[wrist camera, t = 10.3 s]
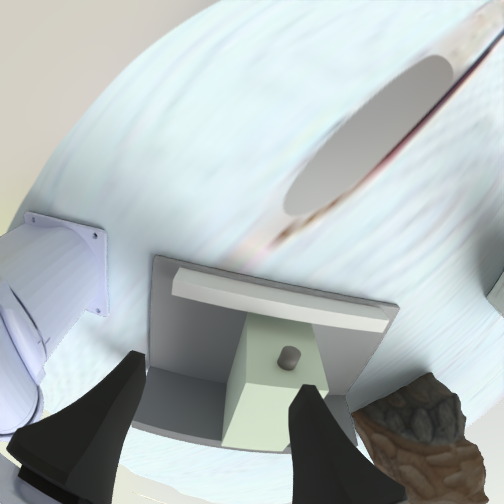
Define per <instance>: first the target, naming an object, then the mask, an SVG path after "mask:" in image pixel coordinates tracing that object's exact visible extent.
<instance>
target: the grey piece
mask: <svg viewBox="0 0 504 504" xmlns="http://www.w3.org/2000/svg"><path fill="white" fill-rule="evenodd" d="M399 310H400V307H399V306H398V305H394V304H388V303H383V302H377V301H372V300H366V299H361V298H355V297H350V296H345V295H339V294H334V293H329V292H324V291H319V290H314V289H309V288H304V287H299V286H294V285H289V284H284V283H279V282H275V281H270V280H265V279H260V278H256V277H251V276H246V275H242V274H237V273H233V272H228V271H224V270H219V269H215V268H210V267H206V266H201V265H197V264H193V263H188V262H184V261H180V260H175V259H171V258H167V257H163V256H159V255H155V257H154V260H153V273H152V289H151V311H150V368H149V370H148V373H147V376H146V384H145V387H144V391H143V394H142V398H141V401H140V403H139V405H138V408H137V410H136V413H135V415H134V417H133V420H132V422H131V425H132V427H133V428H136V429H139V430H143V431H146V432H149V433H153V434H156V435H160V436H164V437H168V438H172V439H176V440H180V441H185V442H189V443H194V444H200V445H205V446H211V447H217V448H224V449H231V450H239V451H249V452H260V453H277V454H292V453H291V445H290V443H289V444H288V445H287V447H286V448H285V449H284V450H283V451H263V450H251V449H241V448H233V447H225V446H221V442H222V431H223V420H224V409H225V399H226V388H227V382H228V378H229V375H230V372H231V368H232V365H233V361H234V358H235V354H236V351H237V347H238V344H239V341H240V337H241V334H242V330H243V327H244V323H245V320H246V316H247V313H248V312H252V313H257V314H262V315H267V316H273V317H278V318H284V319H289V320H295V321H301V322H307V323H311V324H312V328H313V331H314V335H315V338H316V342H317V346H318V350H319V353H320V357H321V361H322V365H323V368H324V372H325V376H326V380H327V384H328V388H329V392H328V393H327V395H326V396H325V398H324V399H323V400H324V401H325V403H326V405H327V406H328V408H329V410H330V411H331V413H332V415H333V416H334V418H335V419H336V421H337V422H338V424H339V426H340V427H341V428H342V430H343V431H344V433H345V434H346V435H347V437H348V438H349V439H350V441H351V442H352V443H353V444H354V445H355V447H356V446H358V443H357V439H356V435H355V431H354V428H353V424H352V420H351V417H350V413H349V410H348V406H347V402H346V399H345V396H344V395H345V394H346V393H347V391H348V390H349V389H350V387H351V386H352V385H353V383H354V382H355V380H356V379H357V378H358V376H359V375H360V373H361V372H362V370H363V369H364V368H365V366H366V365H367V363H368V362H369V360H370V359H371V357H372V355H373V354H374V352H375V351H376V349H377V348H378V346H379V344H380V343H381V341H382V339H383V338H384V336H385V334H386V333H387V331H388V329H389V328H390V326H391V324H392V322H393V321H394V319H395V317H396V315H397V313H398V312H399Z"/></svg>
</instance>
